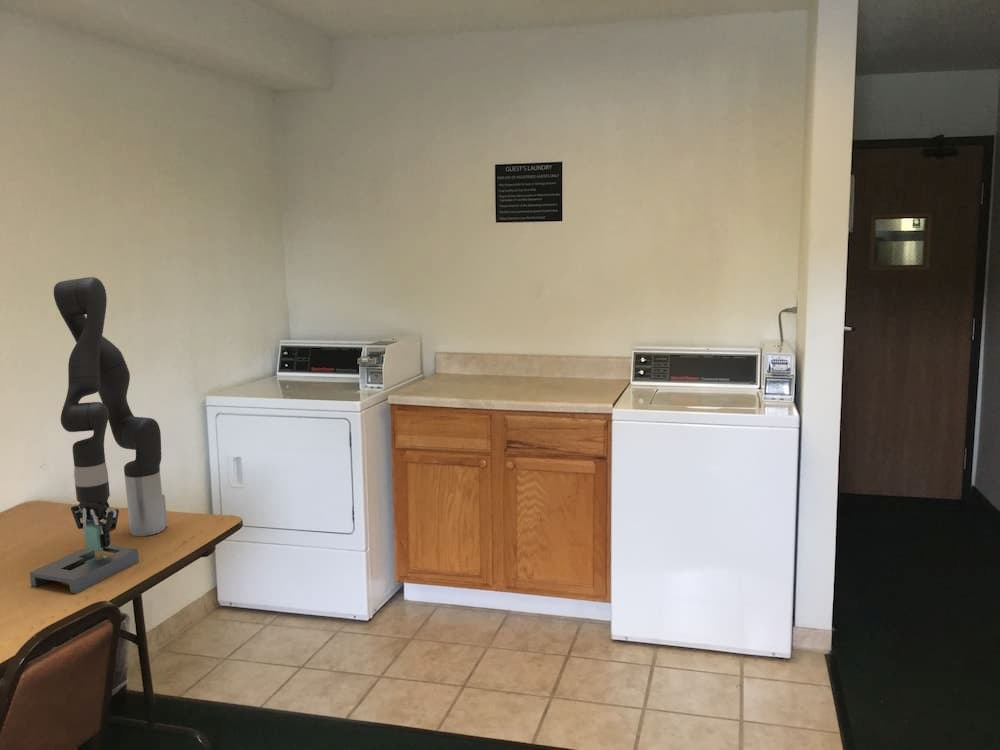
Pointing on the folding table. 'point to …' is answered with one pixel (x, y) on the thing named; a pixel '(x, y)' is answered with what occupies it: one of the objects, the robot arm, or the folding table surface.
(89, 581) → the keyhole plate
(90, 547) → the teal stud
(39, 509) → the folding table surface
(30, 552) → the folding table surface
